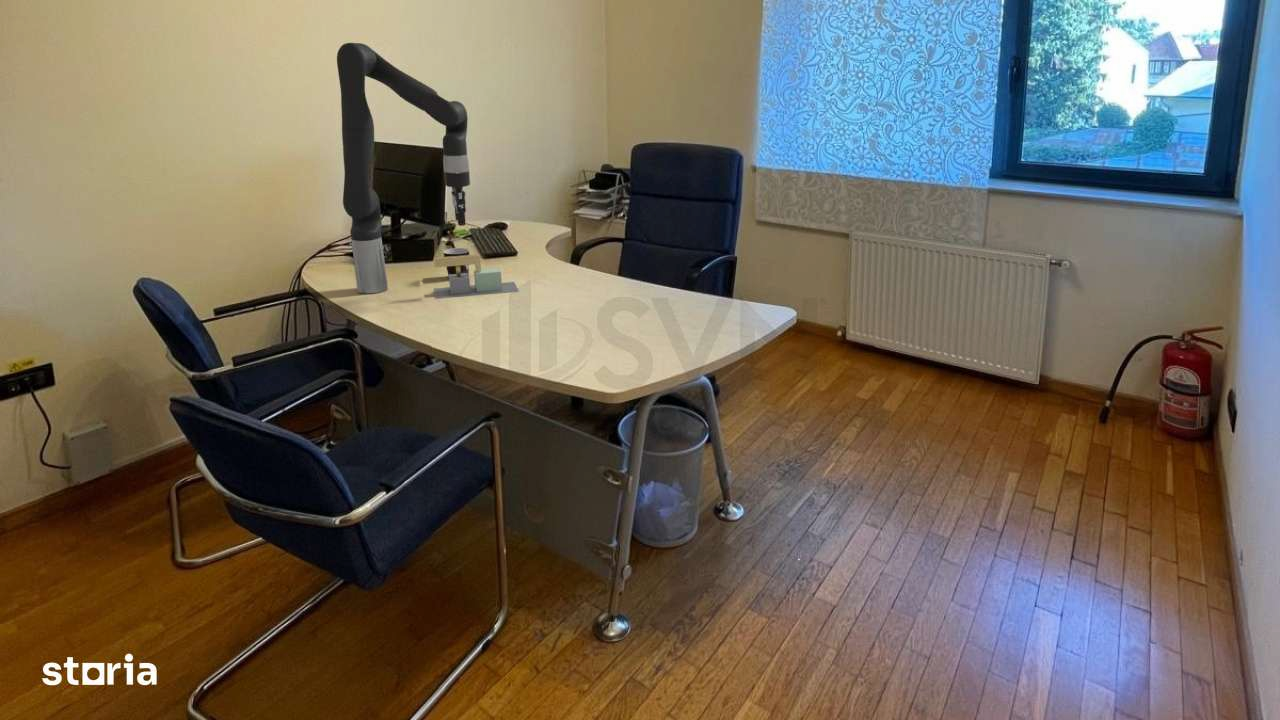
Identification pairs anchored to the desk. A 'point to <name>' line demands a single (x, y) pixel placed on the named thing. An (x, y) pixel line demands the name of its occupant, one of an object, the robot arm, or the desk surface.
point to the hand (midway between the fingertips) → (460, 222)
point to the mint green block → (488, 280)
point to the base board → (473, 291)
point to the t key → (458, 262)
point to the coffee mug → (456, 253)
